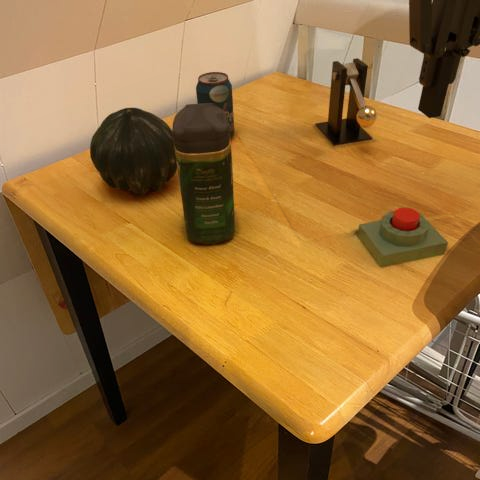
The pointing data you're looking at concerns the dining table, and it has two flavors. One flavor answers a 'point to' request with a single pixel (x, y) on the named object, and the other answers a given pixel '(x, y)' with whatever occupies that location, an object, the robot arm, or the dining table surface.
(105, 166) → the squash
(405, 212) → the button
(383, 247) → the panel
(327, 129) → the switch bracket
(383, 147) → the dining table surface
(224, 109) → the soda can
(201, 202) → the coffee jar
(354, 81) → the switch lever
